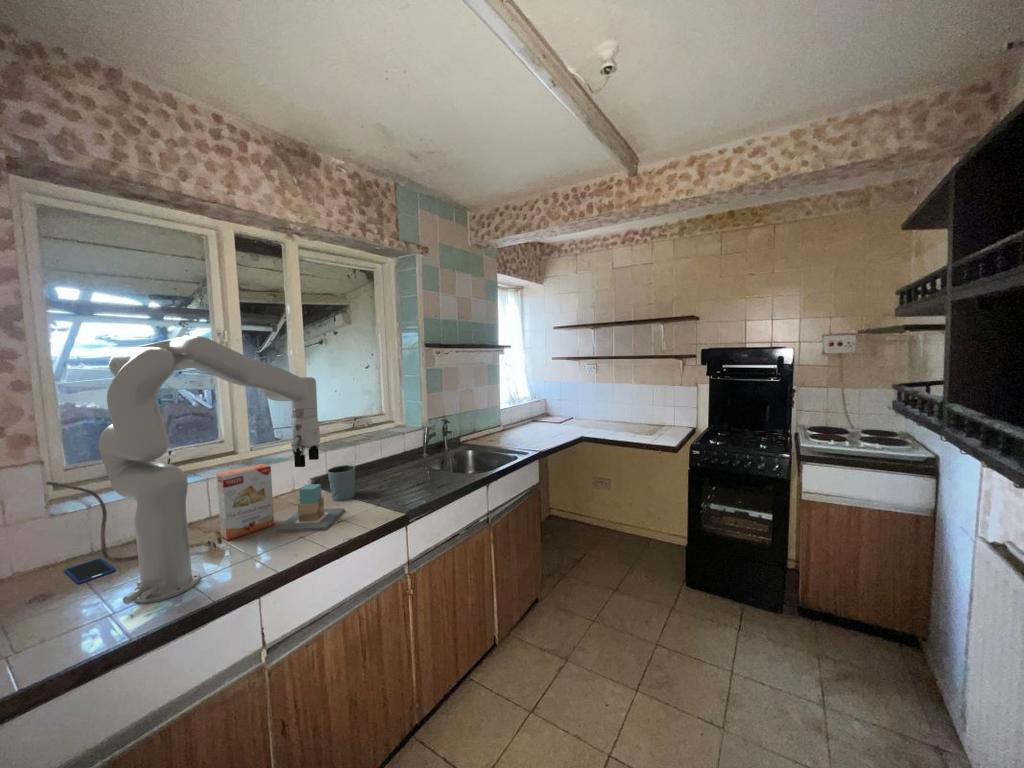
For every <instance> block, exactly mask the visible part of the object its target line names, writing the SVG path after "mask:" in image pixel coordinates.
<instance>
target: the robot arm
mask: <svg viewBox="0 0 1024 768" xmlns="http://www.w3.org/2000/svg"><path fill="white" fill-rule="evenodd" d="M108 367H109V371H110V372H111V374H112V375H113V376H114V377H113V379H112V381H111V382H110V384H109V386H108V389H107V394H106V404H107V409H108V410H107V411H108V413H109V418H110V420H111V424H109V425H108V426H107V427H105V429H104V430H103V431H102V432H101V434H100V436H99V438H98V450H99V455H100V457H101V459H102V464H103V465H104V468H105V471H106V474H107V477H108V479H109V482H110V484H111V485H110V486H111V487H112V489H113V490H114V492H116V493H117V494H118V495H119V496H121V497H123V498H126V499H128V500H132V501H136V503H137V504H136V510H135V515H134V532H135V538H136V539H135V540H136V549H137V559H138V569H139V578H140V579H139V580H138V581H137V582H136V585H137V587H136V588H135V589H134V590H133V591H132V592H130V593H128V594H127V595H125V596H124V597H123V598H122V603H123V604H124V605H129V604H131V603H133V602H135V603H139V604H140V603H141V604H147V603H149V604H150V603H156V602H160V601H164V600H167V599H170V598H173V597H176V596H178V595H180V594H183V593H185V592H186V591H188V590H190V589H191V588H193V587H194V586H196V584H198V583H199V581H200V578H201V574H200V572H199V571H197V570H195V569H192V563H191V562H192V561H191V560H192V559H191V552H190V551H191V550H190V549H191V548H190V539H189V528H188V518H187V495H188V488H189V487H188V485H189V484H188V483H189V482H188V478H187V475H186V472H184V471H183V470H182V469H181V468H179V467H178V466H176V465H174V464H170V463H166V462H158V461H156V460H157V459H160V458H161V457H162V456H164V455H165V454H166V453H167V452H168V450H169V446H170V439H169V435H168V432H167V431H168V430H167V429H166V426H165V422H164V419H163V416H162V413H161V409H160V406H159V400H158V399H159V398H158V397H159V392H160V390H161V388H162V386H163V384H164V383H165V382H166V381H167V380H168V379H170V377H171V376H172V375H173V374H174V373H175V371H179V370H183V369H197V370H199V371H201V372H204V373H206V374H209V375H211V376H214V377H217V378H219V379H222V380H223V381H226V382H228V383H230V384H233V385H238V386H242V387H246V388H247V387H249V388H256V389H261V390H262V393H263V394H264V396H265V397H266V398H267V399H269V400H272V401H277V402H291V406H292V409H291V410H292V419H293V423H292V425H293V426H292V427H293V429H292V442H291V448H292V455H293V458H294V459H293V460H294V467H295V468H304V467H306V454H304V453H305V451H306V449H308V459H309V461H315V460H316V461H317V460H319V457H320V453H319V448H320V445H319V444H320V442H321V433H320V432H321V431H320V422H319V418H318V396H317V395H318V394H317V381H316V378H314V377H311V376H310V377H308V376H306V377H305V376H304V377H300V376H298V375H296V374H294V373H292V372H290V371H288V370H286V369H283V368H281V367H277V366H275V365H273V364H272V365H271V364H269V363H266V362H262V361H260V360H256V359H254V358H251V357H248V356H246V355H244V354H242V353H241V352H238V351H237V350H234V349H232V348H230V347H228V346H226V345H224V344H221V343H219V342H218V341H215V340H213V339H211V338H208V337H206V336H202V335H200V336H199V335H195V336H181V337H180V336H179V337H175V338H169V339H166V340H161V341H157V342H152V343H147V344H142V345H136V346H133V347H128V348H123V349H120V350H119V351H117V352H115V353H114V354H113V355H112V356H111V357H110V359H109V363H108Z"/></svg>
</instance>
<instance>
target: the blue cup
mask: <svg viewBox="0 0 1024 768" xmlns="http://www.w3.org/2000/svg"><path fill="white" fill-rule="evenodd" d="M355 476H356V467H355V465H352V464H344V465H338V466H333V467H331V468H329V469H327V477H328V481H329V488H330V495H331V500H332V501H334V502H345V501H349V500H352V499H354V498H355V496H356V495H355V494H356V493H355V492H356V491H355V490H356V489H355V485H356V483H355V482H356V481H355Z"/></svg>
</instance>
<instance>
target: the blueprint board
mask: <svg viewBox="0 0 1024 768" xmlns="http://www.w3.org/2000/svg"><path fill="white" fill-rule="evenodd" d="M344 512H345V508H344V507H342V508H338V507H337V508H324V513H325V514H324V515H323V516H322V517H321V518H319V519H318V520H317V521H302V522H299V516H298V511H297V512H296V513H294V514H293V515H292V516H291V517H289V518H288V519H287V520H285V521H284V522H283V523H282V524H281V525H280V526H278V527H277V528H275V533H288V532H289V533H290V532H313V531H315V532H316V531H318V532H319V531H326V530H327V529H329V527H331V525H333V524H334V523H335V522H336V521H337V519H338V518H339V517H340V516H342V514H343V513H344Z"/></svg>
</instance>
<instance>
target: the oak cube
mask: <svg viewBox="0 0 1024 768" xmlns="http://www.w3.org/2000/svg"><path fill="white" fill-rule="evenodd" d="M324 509H325V501H324V497H322V498H321V499H320V500H319V501H317V502H316V503H309V504H300V502H299V503H297V512H298V516H299V522H302V521H317V520H318V519H319V518H321V517H322V516H323V515H324V514H325V513H324Z"/></svg>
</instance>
